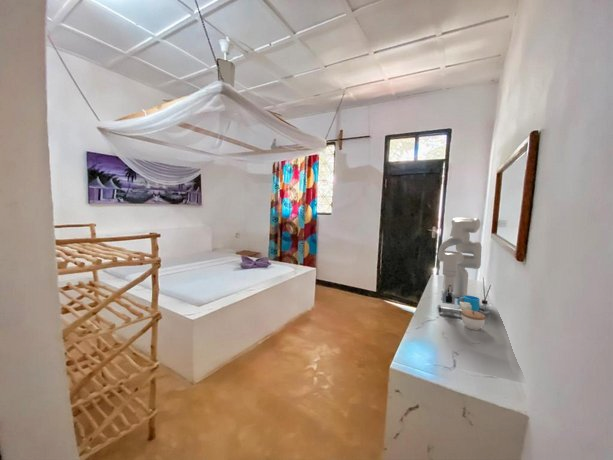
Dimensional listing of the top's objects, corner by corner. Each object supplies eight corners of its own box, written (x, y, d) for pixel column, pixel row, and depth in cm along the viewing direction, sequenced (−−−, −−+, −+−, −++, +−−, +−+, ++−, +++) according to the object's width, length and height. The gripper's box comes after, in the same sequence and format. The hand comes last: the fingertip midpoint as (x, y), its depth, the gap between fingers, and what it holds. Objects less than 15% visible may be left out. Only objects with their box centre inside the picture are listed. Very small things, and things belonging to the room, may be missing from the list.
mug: (478, 309, 158) (479, 297, 158) (478, 313, 152) (479, 301, 151) (457, 305, 165) (457, 293, 165) (456, 309, 159) (457, 296, 158)
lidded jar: (488, 333, 127) (489, 315, 126) (465, 330, 129) (467, 314, 128) (478, 323, 137) (479, 307, 137) (457, 322, 140) (458, 306, 139)
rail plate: (437, 307, 161) (437, 296, 161) (469, 311, 154) (469, 300, 154) (439, 315, 148) (440, 304, 148) (474, 320, 141) (475, 308, 141)
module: (441, 299, 157) (441, 290, 156) (452, 300, 154) (453, 291, 154) (442, 302, 150) (443, 293, 150) (454, 304, 148) (455, 295, 147)
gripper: (441, 269, 160) (439, 295, 161) (444, 275, 144) (442, 304, 146) (454, 270, 157) (452, 297, 159) (459, 276, 141) (457, 306, 143)
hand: (447, 300), depth 152 cm, fingers closed on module, 6 cm apart
